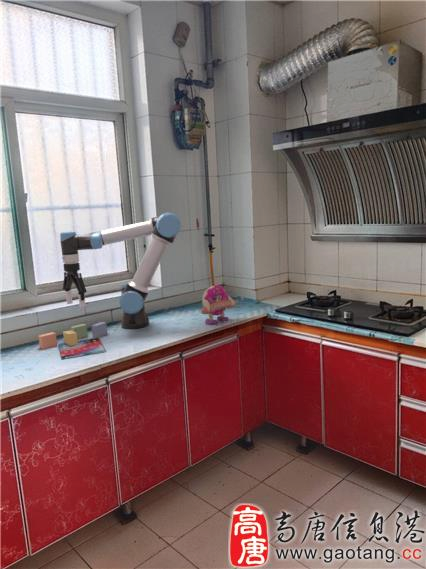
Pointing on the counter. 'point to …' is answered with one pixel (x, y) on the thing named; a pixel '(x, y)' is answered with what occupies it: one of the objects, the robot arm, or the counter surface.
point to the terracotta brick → (47, 340)
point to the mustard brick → (70, 338)
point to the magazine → (81, 348)
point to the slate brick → (99, 329)
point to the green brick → (80, 330)
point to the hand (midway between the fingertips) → (76, 305)
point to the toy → (216, 304)
